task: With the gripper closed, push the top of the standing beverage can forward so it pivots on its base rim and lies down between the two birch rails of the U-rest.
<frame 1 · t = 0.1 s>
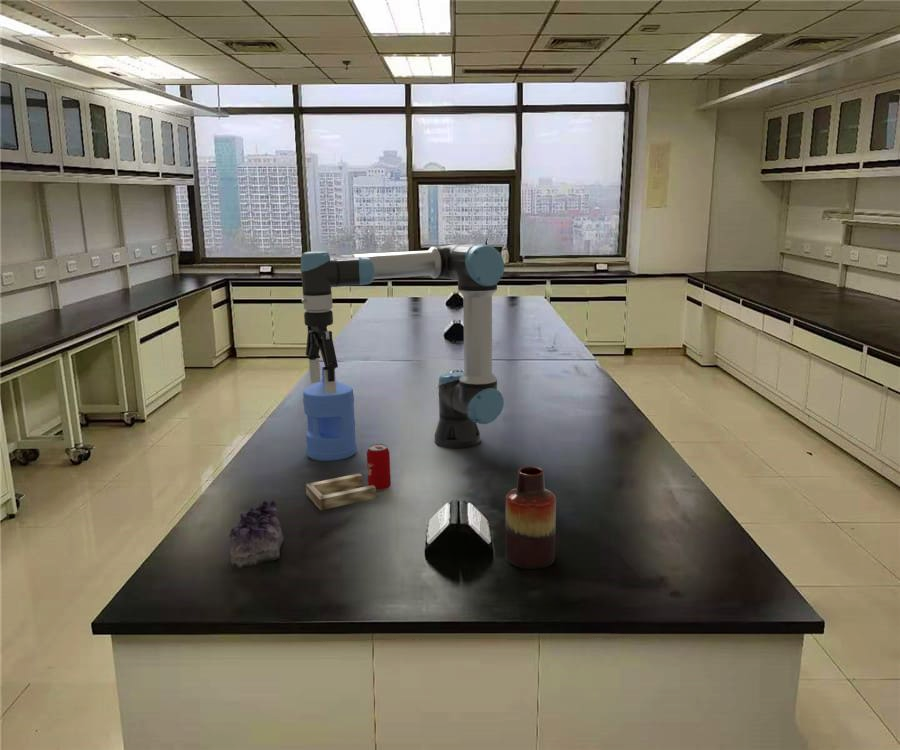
hand: (322, 387, 193), 28 cm above the table, fingers open, 13 cm apart
u rest: (341, 495, 191), on the table
geode: (259, 549, 162), on the table
beverage can: (379, 488, 196), on the table
vase: (530, 558, 155), on the table
water jug: (331, 454, 224), on the table
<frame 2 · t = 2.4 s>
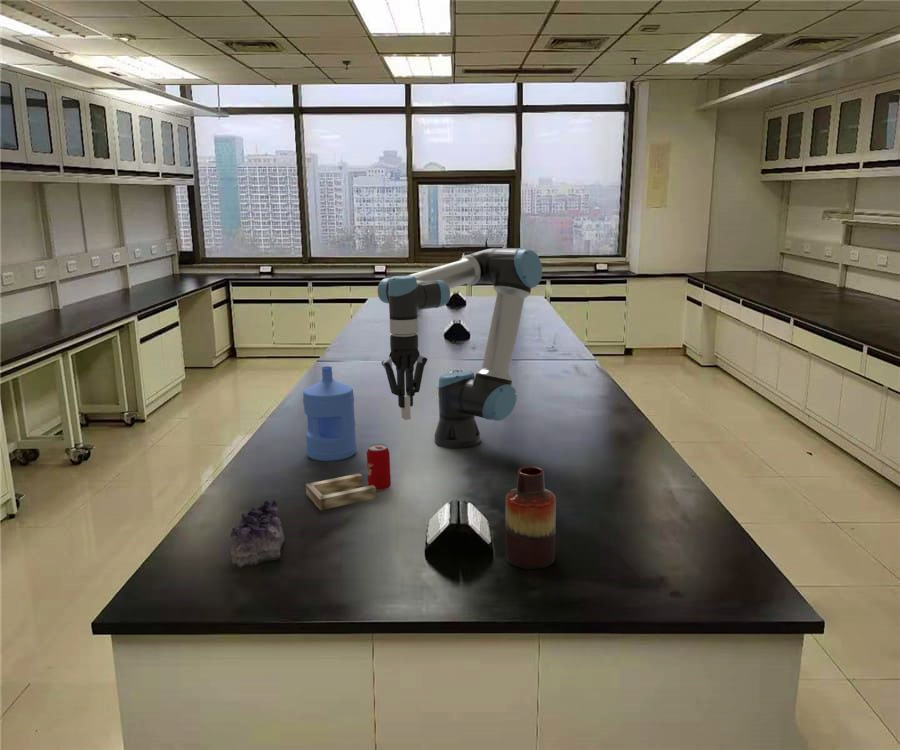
hand: (406, 418, 195), 19 cm above the table, fingers closed
nothing on the table moved.
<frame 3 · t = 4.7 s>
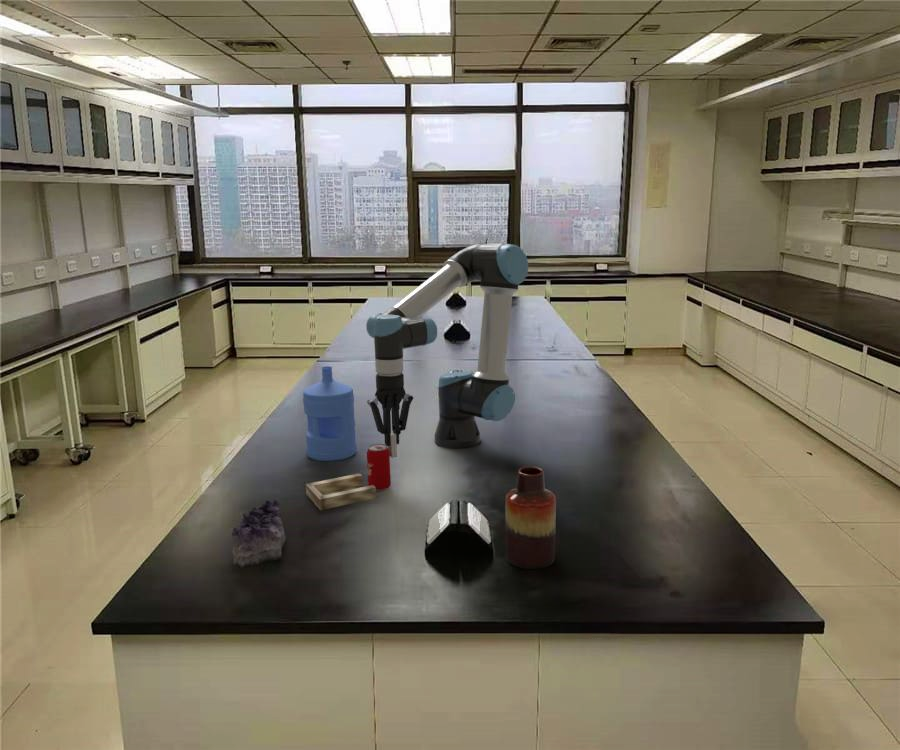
hand: (392, 455, 196), 9 cm above the table, fingers closed
beverage can: (379, 488, 196), on the table, touching gripper
everything else where it was.
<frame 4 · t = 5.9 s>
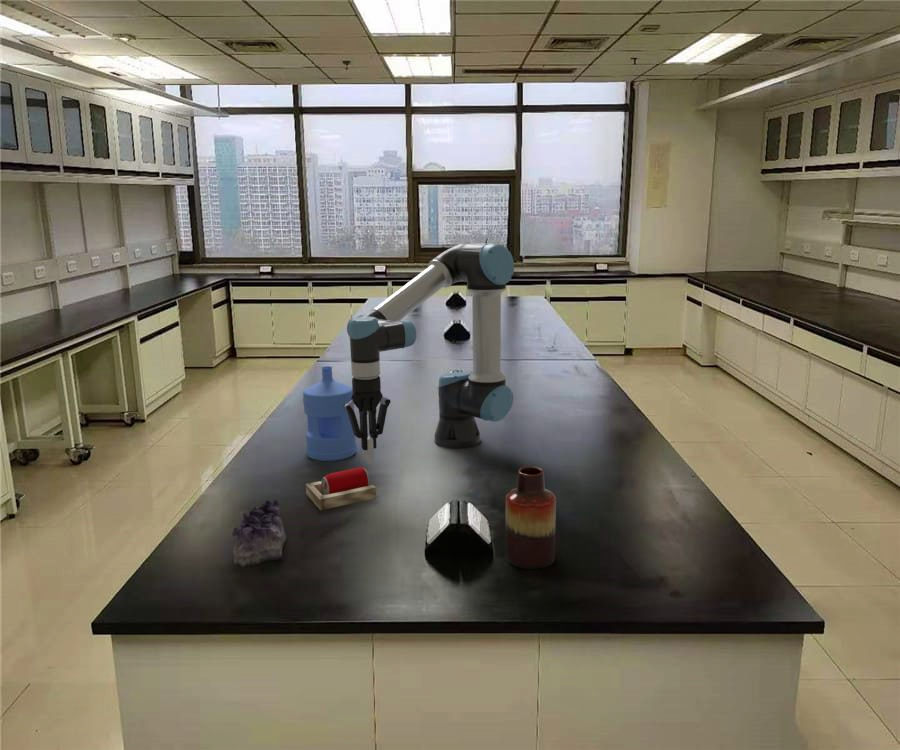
hand: (369, 460, 192), 9 cm above the table, fingers closed
beverage can: (366, 477, 194), point 3 cm above the table, touching u rest
everything else where it was.
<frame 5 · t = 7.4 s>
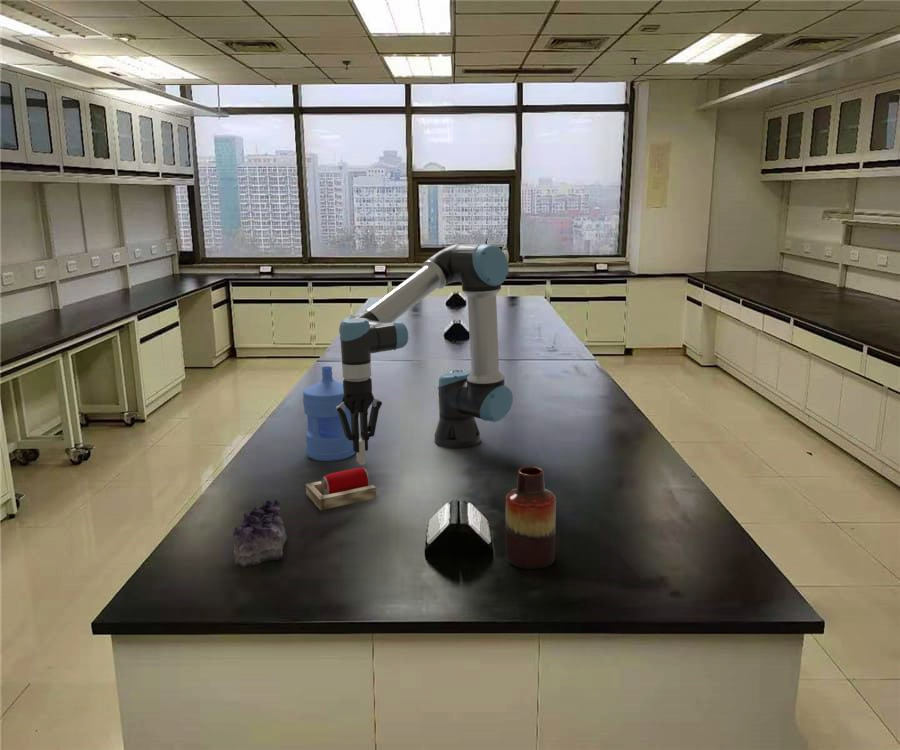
hand: (361, 462, 191), 8 cm above the table, fingers closed
nothing on the table moved.
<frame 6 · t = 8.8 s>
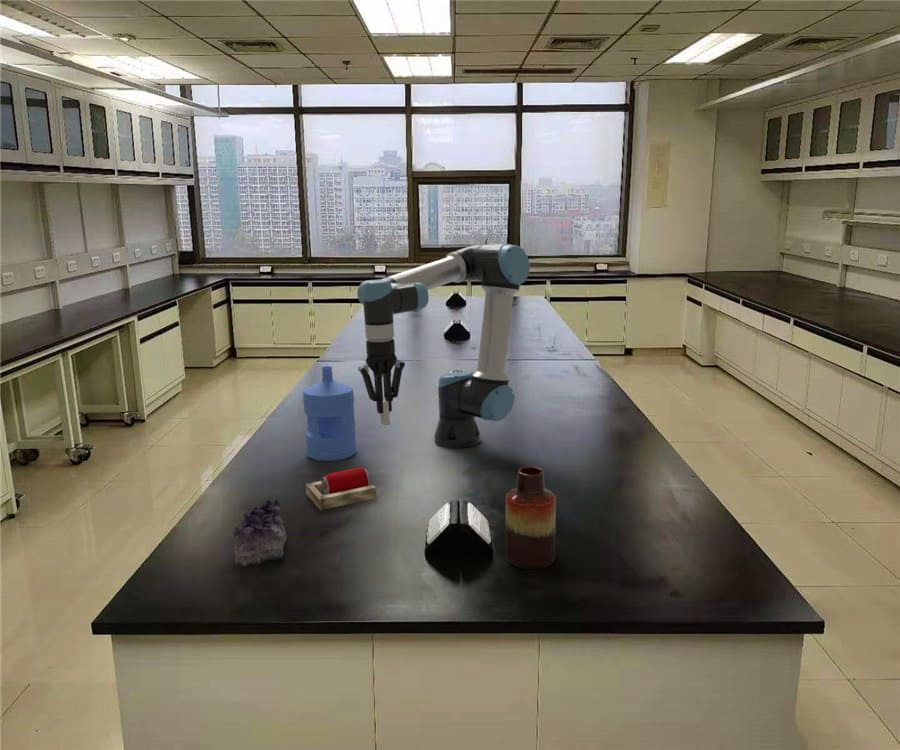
hand: (385, 423, 193), 18 cm above the table, fingers closed
nothing on the table moved.
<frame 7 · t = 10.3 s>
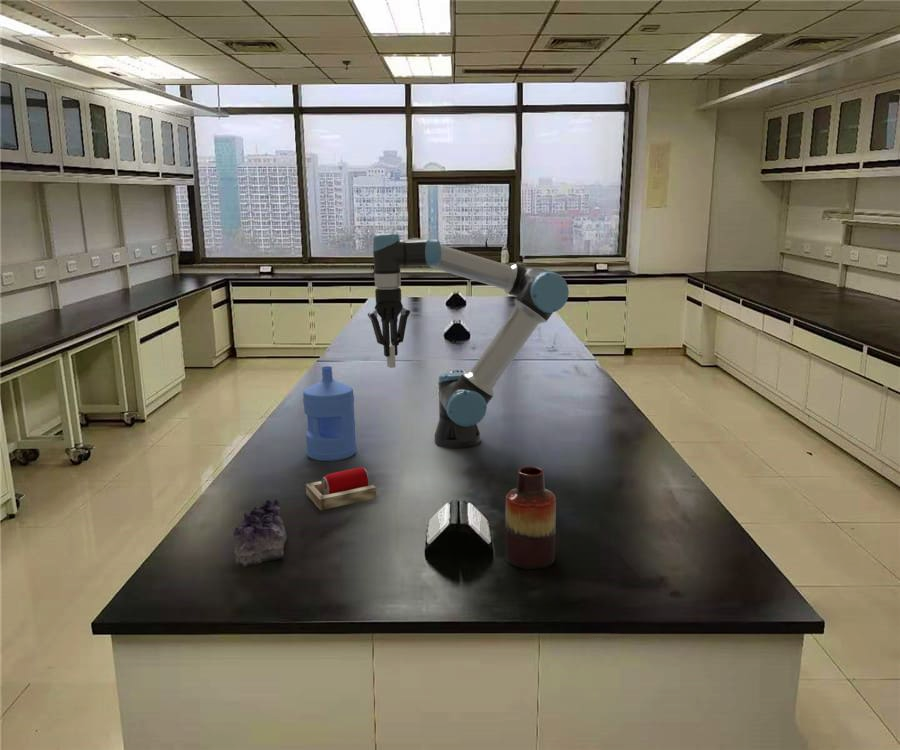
hand: (391, 366, 211), 29 cm above the table, fingers closed
nothing on the table moved.
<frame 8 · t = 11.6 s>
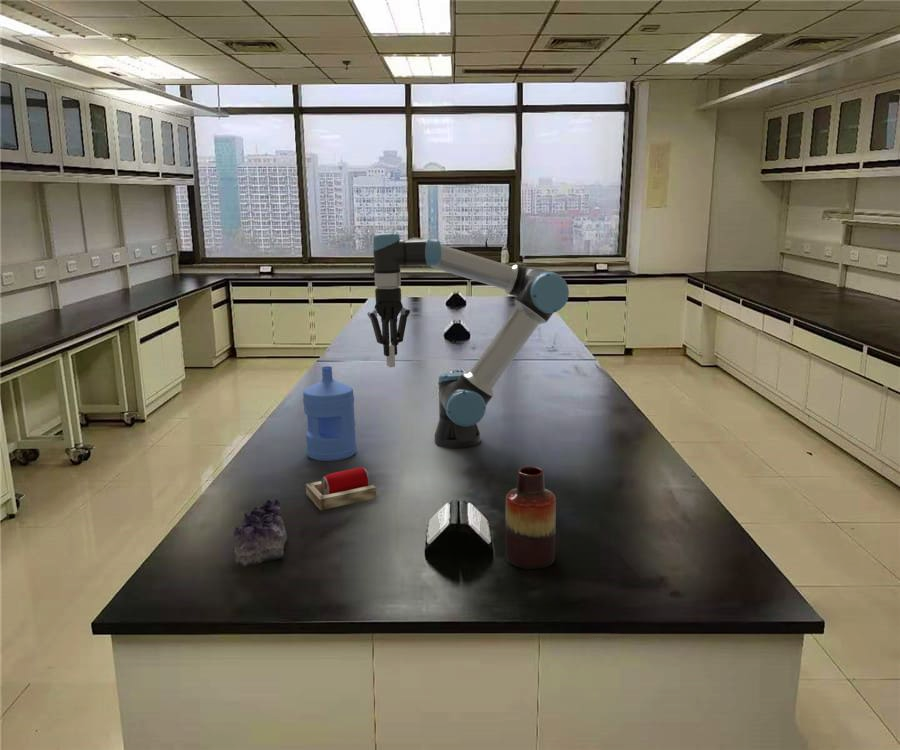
hand: (390, 366, 211), 29 cm above the table, fingers closed
nothing on the table moved.
at the end: beverage can tilted 90°; beverage can inside the target area (5.9 cm from its centre), point 3.4 cm above the table; the gripper is holding nothing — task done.
